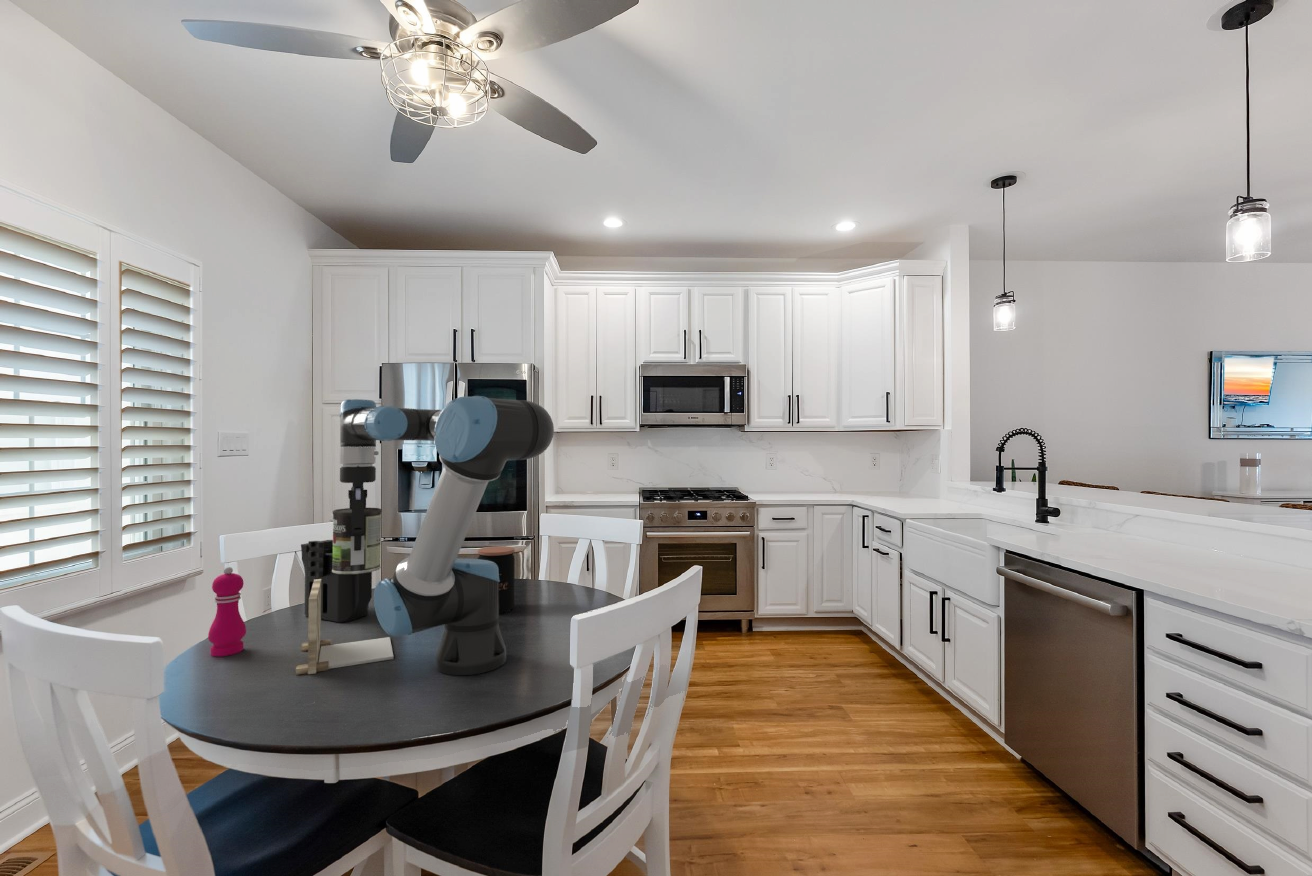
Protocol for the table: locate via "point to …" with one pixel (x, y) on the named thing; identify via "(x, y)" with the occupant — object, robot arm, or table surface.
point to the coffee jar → (502, 572)
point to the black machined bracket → (335, 584)
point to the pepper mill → (227, 615)
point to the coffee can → (343, 542)
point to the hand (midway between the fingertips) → (357, 560)
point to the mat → (356, 652)
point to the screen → (314, 634)
